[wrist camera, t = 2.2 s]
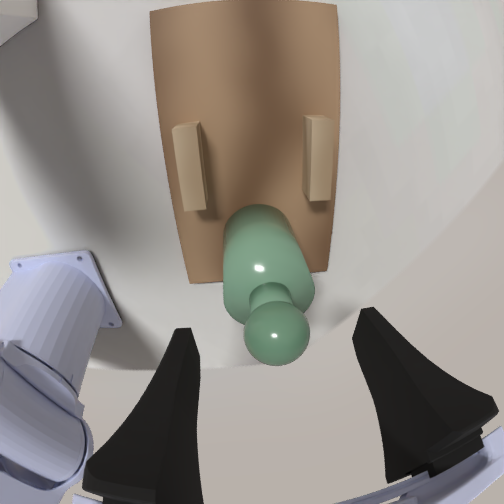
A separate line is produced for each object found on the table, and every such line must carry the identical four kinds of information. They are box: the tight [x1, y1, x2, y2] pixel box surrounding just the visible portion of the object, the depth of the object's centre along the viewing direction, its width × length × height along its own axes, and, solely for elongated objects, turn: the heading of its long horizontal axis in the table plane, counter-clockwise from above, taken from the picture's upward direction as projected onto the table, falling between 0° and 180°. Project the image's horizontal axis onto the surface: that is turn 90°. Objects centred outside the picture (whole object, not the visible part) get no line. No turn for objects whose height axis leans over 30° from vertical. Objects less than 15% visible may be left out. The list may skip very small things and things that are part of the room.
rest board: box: [150, 0, 340, 284], centre depth 15 cm, size 10×18×2 cm, turn 3°
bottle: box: [223, 204, 315, 366], centre depth 14 cm, size 4×4×9 cm
